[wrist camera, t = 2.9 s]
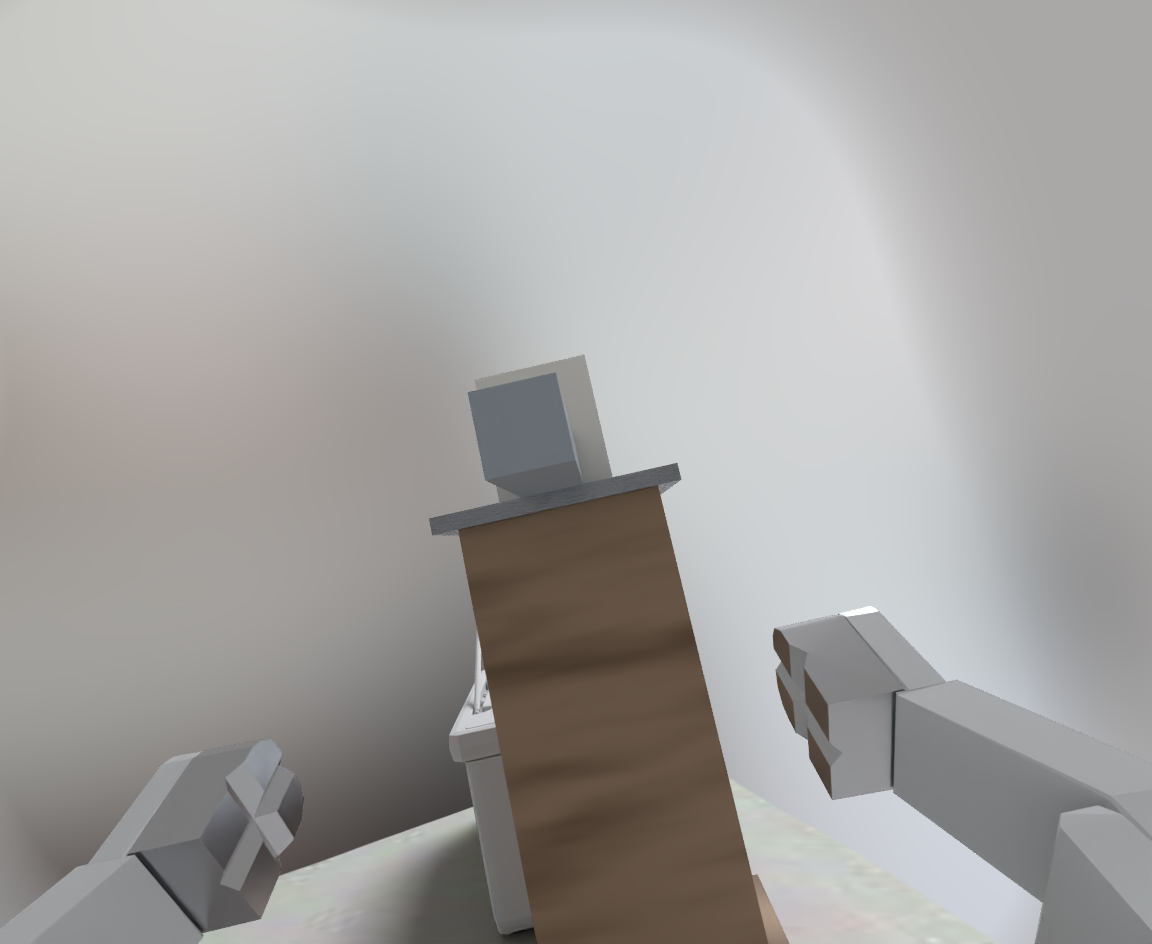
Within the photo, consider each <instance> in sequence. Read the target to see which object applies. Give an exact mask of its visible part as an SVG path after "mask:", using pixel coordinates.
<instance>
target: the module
mask: <svg viewBox="0 0 1152 944" xmlns="http://www.w3.org/2000/svg"><path fill="white" fill-rule="evenodd" d="M475 383H476V388H477V390H476V391H471V392H468V396H469V401H470V406H471V411H472V416H473V421H474V426H475V431H476V436H477V441H478V446H479V451H480V456H481V461H482V466H483V471H484V476H485V480H486V481H488V482H490V483H492V484H494V485H496V487H497V492H498V497H499V502H500V503H501V502H505V501H510V500H514V499H519V498H523V497H528V496H532V495H537V494H541V493H546V492H550V491H554V490H559V489H563V488H568V487H572V486H577V485H581V484H586V483H590V482H595V481H599V480H604V479H608V478H612V473H611V469H610V464H609V460H608V456H607V451H606V447H605V443H604V439H603V434H602V430H601V425H600V421H599V417H598V412H597V408H596V404H595V399H594V395H593V391H592V387H591V382H590V378H589V374H588V369H587V365H586V360H585V356H584V355H581V356H577V357H572V358H568V359H564V360H559V361H555V362H551V363H546V364H542V365H538V366H533V367H529V368H525V369H520V370H516V371H511V372H507V373H502V374H498V375H494V376H489V377H485V378H481V379H477V380H475Z"/></svg>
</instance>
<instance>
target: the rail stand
mask: <svg viewBox="0 0 1152 944" xmlns="http://www.w3.org/2000/svg"><path fill="white" fill-rule="evenodd" d="M680 480H681V476H680V472H679V468H678V465H677V463H675V464H671V465H666V466H662V467H657V468H653V469H648V470H644V471H640V472H635V473H630V474H626V475H621V476H617V477H612V478H608V479H604V480H599V481H595V482H590V483H586V484H581V485H577V486H572V487H568V488H563V489H559V490H554V491H550V492H546V493H541V494H537V495H532V496H528V497H523V498H519V499H514V500H510V501H505V502H501V503H496V504H492V505H488V506H483V507H479V508H474V509H470V510H465V511H461V512H457V513H452V514H447V515H443V516H438V517H434V518H430V519H429V521H430V526H431V531H432V535H459V537H460V542H461V547H462V552H463V557H464V563H465V568H466V574H467V579H468V584H469V589H470V595H471V599H472V605H473V610H474V615H475V621H476V625H477V631H478V637H479V642H480V647H481V652H482V658H483V663H484V668H485V673H486V679H487V684H488V689H489V694H490V700H491V705H492V710H493V715H494V721H495V726H496V731H497V736H498V742H499V747H500V752H501V757H502V763H503V768H504V773H505V778H506V784H507V789H508V794H509V799H510V805H511V810H512V815H513V820H514V826H515V831H516V836H517V841H518V847H519V852H520V857H521V862H522V868H523V873H524V878H525V883H526V889H527V894H528V899H529V904H530V910H531V915H532V920H533V925H534V931H535V936H536V941H537V944H789V942H788V940H787V938H786V935H785V933H784V931H783V929H782V927H781V925H780V922H779V920H778V918H777V916H776V914H775V912H774V909H773V907H772V905H771V903H770V901H769V899H768V896H767V894H766V892H765V890H764V888H763V886H762V883H761V881H760V879H759V877H758V875H752V874H751V870H750V865H749V861H748V857H747V853H746V849H745V845H744V841H743V836H742V832H741V828H740V824H739V820H738V816H737V811H736V807H735V803H734V799H733V795H732V791H731V787H730V782H729V778H728V774H727V770H726V766H725V762H724V758H723V754H722V749H721V745H720V741H719V737H718V733H717V729H716V725H715V720H714V716H713V712H712V708H711V704H710V700H709V695H708V691H707V687H706V683H705V679H704V675H703V671H702V666H701V663H700V658H699V654H698V650H697V646H696V641H695V637H694V633H693V629H692V625H691V621H690V617H689V612H688V608H687V604H686V600H685V596H684V592H683V587H682V583H681V579H680V575H679V571H678V567H677V562H676V558H675V554H674V550H673V546H672V542H671V538H670V533H669V530H668V526H667V521H666V517H665V513H664V509H663V505H662V500H661V496H660V494H662V493H663V492H665V491H666V490H667V489H669V488H670V487H671V486H673V485H674V484H676V483H677V482H679V481H680Z"/></svg>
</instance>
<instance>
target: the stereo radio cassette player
mask: <svg viewBox="0 0 1152 944" xmlns="http://www.w3.org/2000/svg"><path fill="white" fill-rule="evenodd" d="M476 636H477V637H476V659H475V683H474V685H473V687H472V689H471V691H470V693H469V696H468V698H467V700H466V702H465V704H464V706H463V708H462V710H461V712H460V714H459V716H458V718H457V720H456V722H455V724H454V726H453V729H452V731H451V733H450V735H449V749H450V752H451V755H452V758H453V760H454V761H455V762H465V763H466V769H467V774H468V779H469V785H470V791H471V796H472V802H473V807H474V813H475V818H476V824H477V829H478V835H479V840H480V846H481V851H482V857H483V862H484V868H485V873H486V879H487V884H488V890H489V895H490V901H491V906H492V911H493V917H494V920H495V922H496V923H497V930H498V932H499V933H500V934H507V935H509V934H512V933H513V932H515V931H520V930H524V929H529V928H533V927H534V925H533V920H532V915H531V910H530V904H529V899H528V894H527V889H526V883H525V878H524V873H523V868H522V862H521V857H520V852H519V847H518V841H517V836H516V831H515V826H514V820H513V815H512V810H511V805H510V799H509V794H508V789H507V784H506V778H505V773H504V768H503V763H502V757H501V752H500V747H499V742H498V736H497V731H496V726H495V721H494V715H493V710H492V705H491V700H490V694H489V689H488V684H487V679H486V673H485V670H483V671H481V647H480V642H479V637H478V631H477V635H476Z"/></svg>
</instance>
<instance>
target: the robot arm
mask: <svg viewBox="0 0 1152 944" xmlns="http://www.w3.org/2000/svg"><path fill="white" fill-rule="evenodd" d="M773 645H774V649H775V651H776V653H777V655H778V656H779V658H780V660H781V663H780V664H779V666H778V668H777V669H776V676H777V684H778V689H779V693H780V696H781V700H782V704H783V706H784V709H785V711H786V714H787V716H788V718H789V720H790V722H791V724H792V726H793V728H794V730H795V732H796V733H798V734H799V735H801V736H802V737H804V738H806V739H807V740H808V745H809V758H810V760H811V762H812V764H813V765H814V767H815V769H816V771H817V773H818V775H819V777H820V778H821V780H822V782H823V784H824V786H825V788H826V790H827V791H828V793H829V795H830V797H831V799H832V800H836V799H841V798H847V797H853V796H858V795H864V794H869V793H875V792H881V791H886V790H891V789H893V793H894V794H896V795H897V796H899V797H900V798H901V799H903V800H904V801H905V802H907V803H908V804H909V805H911V806H912V807H913V808H915V809H916V810H918V811H919V812H920V813H922V814H923V815H924V816H926V817H927V818H928V819H930V820H931V821H932V822H934V823H935V824H936V825H938V826H939V827H941V828H942V829H943V830H945V831H946V832H947V833H949V834H950V835H952V836H953V837H954V838H955V839H957V840H959V841H960V842H961V843H962V844H964V845H965V846H966V847H968V848H969V849H970V850H972V851H973V852H974V853H976V854H977V855H979V856H980V857H981V858H983V859H984V860H985V861H987V862H988V863H989V864H991V865H992V866H994V867H995V868H996V869H998V870H999V871H1000V872H1002V873H1003V874H1004V875H1006V876H1007V877H1008V878H1010V879H1011V880H1013V881H1014V882H1015V883H1017V884H1018V885H1019V886H1021V887H1022V888H1023V889H1025V890H1026V891H1027V892H1029V893H1030V894H1031V895H1033V896H1034V897H1035V898H1037V899H1038V900H1040V901H1041V902H1042V903H1043V904H1042V909H1041V914H1040V920H1039V924H1038V929H1037V934H1036V939H1035V944H1152V763H1151V762H1149V761H1147V760H1144V759H1142V758H1140V757H1137V756H1135V755H1133V754H1130V753H1128V752H1126V751H1123V750H1121V749H1119V748H1116V747H1114V746H1112V745H1109V744H1107V743H1104V742H1102V741H1100V740H1097V739H1095V738H1093V737H1090V736H1088V735H1086V734H1083V733H1081V732H1079V731H1076V730H1074V729H1071V728H1069V727H1067V726H1065V725H1062V724H1060V723H1057V722H1055V721H1053V720H1050V719H1048V718H1045V717H1043V716H1041V715H1038V714H1036V713H1034V712H1032V711H1029V710H1027V709H1025V708H1022V707H1020V706H1017V705H1015V704H1013V703H1010V702H1008V701H1006V700H1003V699H1000V698H999V697H996V696H994V695H992V694H989V693H987V692H984V691H982V690H980V689H978V688H975V687H973V686H970V685H968V684H966V683H963V682H961V681H958V680H954V681H949V682H946V681H945V680H944V679H943V678H942V677H941V676H940V675H939V674H938V673H937V672H936V670H935V669H934V668H933V667H932V666H931V665H930V664H929V663H928V662H927V661H926V660H925V659H924V658H923V657H922V656H921V655H920V654H919V653H918V652H917V651H916V650H915V649H914V647H913V646H912V645H911V644H910V643H909V642H908V641H907V640H906V639H905V638H904V637H903V636H902V635H901V634H900V633H899V632H898V631H897V630H896V629H895V628H894V627H893V626H892V625H891V623H890V622H888V621H887V619H886V618H885V617H884V616H883V615H882V614H881V613H880V612H879V611H878V610H877V609H875V608H873V607H871V606H868V607H864V608H859V609H855V610H852V611H847V612H842V613H838V614H837V615H831V616H826V617H822V618H817V619H813V620H809V621H805V622H800V623H795V624H791V625H787V626H783V627H778V628H774V632H773ZM282 755H283V754H282V752H281V751H280V749H279V748H278V746H277V745H276V743H275V742H274V740H269V739H260V740H255V741H250V742H245V743H239V744H234V745H229V746H224V747H218V748H213V749H208V750H204V751H202V752H196V753H191V754H185V755H180V756H175V757H173V758H171V759H170V760H168V761H167V762H165V763H163V764H162V765H161V766H160V768H159V769H158V770H157V772H156V773H155V774H154V776H153V777H152V778H151V780H150V781H149V783H148V784H147V785H146V787H145V788H144V789H143V791H142V792H141V793H140V795H139V796H138V797H137V799H136V800H135V802H134V803H133V804H132V805H131V807H130V808H129V810H128V811H127V812H126V814H125V815H124V816H123V818H122V819H121V820H120V822H119V823H118V824H117V826H116V827H115V828H114V830H113V831H112V833H111V834H110V835H109V837H108V838H107V839H106V841H105V842H104V843H103V845H102V846H101V848H100V849H99V850H98V851H97V853H96V854H95V855H94V857H93V858H92V860H91V861H90V862H89V864H87V865H83V866H79V867H76V868H75V869H74V870H73V871H71V872H70V873H69V874H68V875H67V876H65V877H64V878H63V879H62V880H61V881H59V882H58V883H57V884H55V885H54V886H53V887H52V888H50V889H49V890H48V891H47V892H45V893H44V894H43V895H42V896H41V897H39V898H38V899H37V900H36V901H34V902H33V903H32V904H31V905H29V906H28V907H27V908H26V909H24V910H23V911H22V912H21V913H19V914H18V915H17V916H16V917H14V918H13V919H12V920H11V921H9V922H8V923H7V924H6V925H5V926H3V927H2V928H1V929H0V944H198V943H199V942H200V940H201V939H202V938H203V934H202V933H205V932H209V931H214V930H218V929H222V928H226V927H230V926H234V925H238V924H243V923H247V922H251V921H255V920H259V919H261V917H262V915H263V912H264V910H265V908H266V905H267V903H268V901H269V898H270V896H271V893H272V891H273V889H274V886H275V884H276V881H277V879H278V877H279V874H280V872H281V865H280V861H279V857H278V856H279V854H280V853H281V852H282V851H283V850H284V849H285V848H286V847H287V846H288V845H289V844H290V843H291V842H292V840H293V839H294V838H295V836H296V833H297V830H298V828H299V825H300V823H301V820H302V813H303V803H304V796H303V792H302V787H301V784H300V782H299V780H298V778H297V777H296V775H295V773H293V772H291V771H289V770H287V769H285V768H283V767H281V766H279V765H280V762H281V759H282Z"/></svg>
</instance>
